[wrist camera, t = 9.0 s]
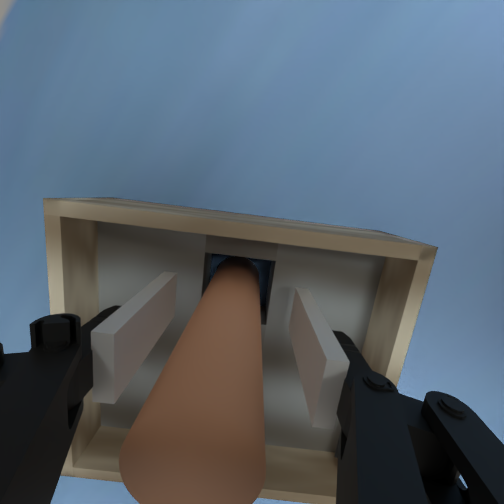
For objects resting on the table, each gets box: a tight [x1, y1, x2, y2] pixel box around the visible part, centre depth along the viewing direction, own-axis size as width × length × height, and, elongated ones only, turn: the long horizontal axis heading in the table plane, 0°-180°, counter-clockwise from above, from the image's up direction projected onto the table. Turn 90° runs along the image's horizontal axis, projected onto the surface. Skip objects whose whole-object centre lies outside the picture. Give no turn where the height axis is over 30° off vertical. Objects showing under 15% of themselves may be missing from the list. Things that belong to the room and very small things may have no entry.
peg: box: [119, 256, 266, 504], centre depth 13 cm, size 3×3×14 cm
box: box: [43, 198, 438, 504], centre depth 17 cm, size 18×20×6 cm
